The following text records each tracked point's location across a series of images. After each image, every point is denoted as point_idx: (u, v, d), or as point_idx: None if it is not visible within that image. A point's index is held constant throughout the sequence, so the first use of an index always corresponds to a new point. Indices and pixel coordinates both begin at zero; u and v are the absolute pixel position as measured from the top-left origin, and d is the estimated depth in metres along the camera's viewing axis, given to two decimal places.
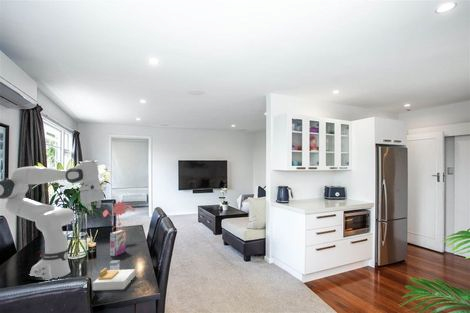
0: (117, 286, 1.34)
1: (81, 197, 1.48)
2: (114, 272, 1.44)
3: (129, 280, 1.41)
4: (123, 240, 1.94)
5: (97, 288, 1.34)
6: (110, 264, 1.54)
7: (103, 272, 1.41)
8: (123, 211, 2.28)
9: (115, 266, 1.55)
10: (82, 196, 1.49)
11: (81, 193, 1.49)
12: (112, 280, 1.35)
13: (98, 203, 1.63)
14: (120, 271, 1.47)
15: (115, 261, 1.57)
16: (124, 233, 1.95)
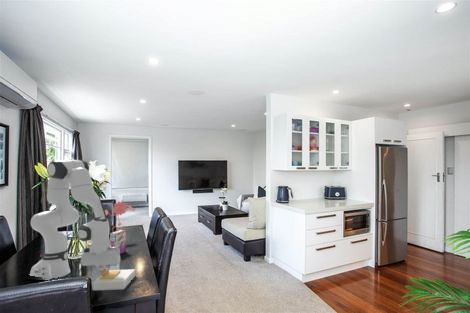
0: (117, 286, 1.34)
1: None
2: (116, 272, 1.44)
3: (129, 280, 1.41)
4: (123, 240, 1.94)
5: (97, 288, 1.34)
6: None
7: (105, 272, 1.41)
8: (123, 211, 2.28)
9: (115, 266, 1.55)
10: None
11: None
12: (112, 280, 1.35)
13: None
14: (120, 271, 1.47)
15: None
16: (124, 233, 1.95)
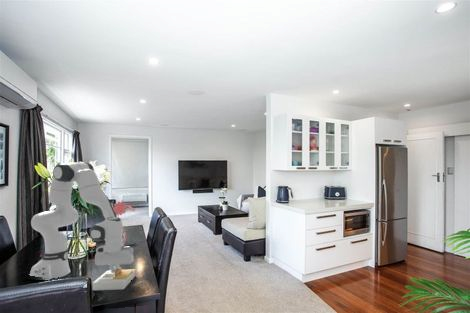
0: (117, 286, 1.34)
1: None
2: (129, 271, 1.44)
3: (129, 280, 1.41)
4: (123, 240, 1.94)
5: (97, 288, 1.34)
6: None
7: (118, 271, 1.41)
8: (123, 211, 2.28)
9: (115, 266, 1.55)
10: None
11: None
12: (112, 280, 1.35)
13: (116, 267, 1.42)
14: None
15: None
16: (124, 233, 1.95)
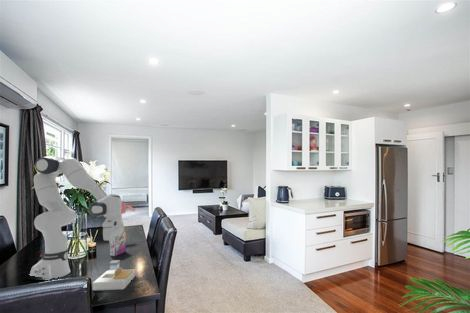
0: (117, 286, 1.34)
1: (104, 234, 1.48)
2: (128, 271, 1.44)
3: (129, 280, 1.41)
4: (123, 240, 1.94)
5: (97, 288, 1.34)
6: (110, 264, 1.55)
7: (118, 271, 1.41)
8: (123, 211, 2.28)
9: (115, 266, 1.55)
10: (105, 233, 1.48)
11: (104, 230, 1.48)
12: (112, 280, 1.35)
13: (116, 237, 1.61)
14: None
15: (115, 261, 1.57)
16: (124, 233, 1.95)
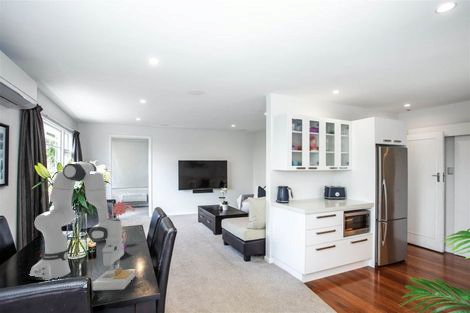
0: (117, 286, 1.34)
1: (104, 260, 1.47)
2: (128, 271, 1.44)
3: (129, 280, 1.41)
4: (123, 240, 1.94)
5: (97, 288, 1.34)
6: None
7: (118, 271, 1.41)
8: (123, 211, 2.28)
9: (115, 266, 1.55)
10: (105, 258, 1.47)
11: (104, 255, 1.48)
12: (112, 280, 1.35)
13: None
14: None
15: (115, 261, 1.57)
16: (124, 233, 1.95)
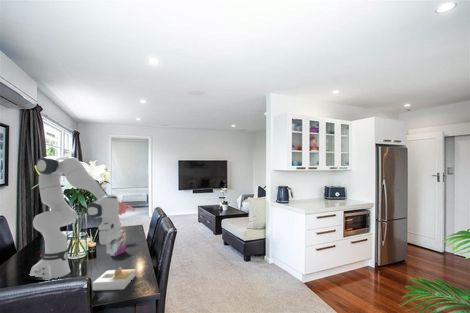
0: (117, 286, 1.34)
1: (100, 238, 1.38)
2: (128, 271, 1.44)
3: (129, 280, 1.41)
4: (123, 240, 1.94)
5: (97, 288, 1.34)
6: None
7: (118, 271, 1.41)
8: (123, 211, 2.28)
9: (112, 245, 1.46)
10: (101, 236, 1.38)
11: (100, 233, 1.39)
12: (112, 280, 1.35)
13: None
14: None
15: (112, 240, 1.48)
16: (124, 233, 1.95)
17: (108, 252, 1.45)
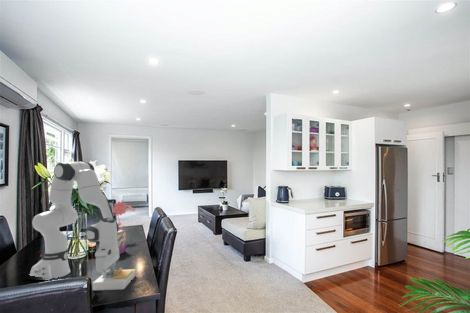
0: (117, 286, 1.34)
1: (97, 265, 1.32)
2: (128, 271, 1.44)
3: (129, 280, 1.41)
4: (123, 240, 1.94)
5: (97, 288, 1.34)
6: None
7: (118, 271, 1.41)
8: (123, 211, 2.28)
9: (109, 276, 1.40)
10: (98, 264, 1.33)
11: (97, 260, 1.33)
12: (112, 280, 1.35)
13: (112, 265, 1.47)
14: None
15: (109, 271, 1.42)
16: (124, 233, 1.95)
17: None
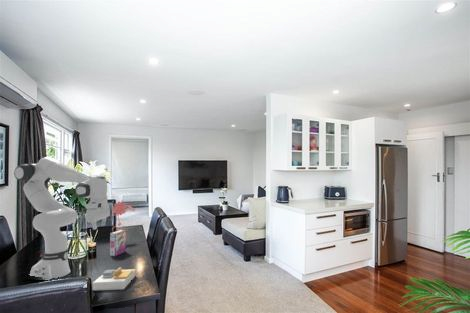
0: (117, 286, 1.34)
1: (87, 216, 1.40)
2: (128, 271, 1.44)
3: (129, 280, 1.41)
4: (123, 240, 1.94)
5: (97, 288, 1.34)
6: (104, 274, 1.40)
7: (118, 271, 1.41)
8: (123, 211, 2.28)
9: (109, 276, 1.40)
10: (88, 215, 1.40)
11: (87, 211, 1.41)
12: (112, 280, 1.35)
13: (103, 221, 1.55)
14: None
15: (109, 271, 1.42)
16: (124, 233, 1.95)
17: None
